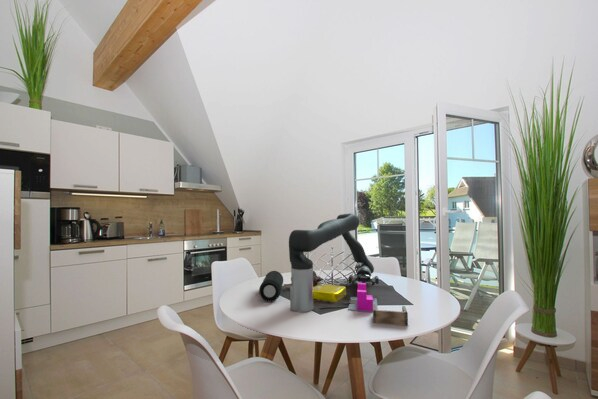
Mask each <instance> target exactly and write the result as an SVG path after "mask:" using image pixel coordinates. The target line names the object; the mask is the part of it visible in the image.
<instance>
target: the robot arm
mask: <svg viewBox="0 0 598 399" xmlns="http://www.w3.org/2000/svg"><path fill="white" fill-rule="evenodd" d="M359 226H360V219H359V216H358V215H357V214H355V213H352V212H351V213H344V214H339V215H338V216H337V217H336V218H334V219H329V220H326V221H323V222H322V223H320V224H319V225H318V226H317V229H312V230H311V229H308V230H307V229H295V230H294V229H293V230H292V231H291V232H290V234H289V237H288V252H289V254H288V256H289V263H290V266H291V267H290V268H291V269H290V270H291V273H290V274H291V277H290V281H291V286H289V294H290V295H289V302H290V303H289V306H290V307H289V309H290V310H291V311H294V312H298V313H299V312H300V313H308V312H312V310H314V300H313V271H314V263H313V261H312V260H311V259H309V258H308V257H307V256H306V255H305V253H311V252H313V251H314V250H317V249H318V247H320V246H322V245H323V244H326V243H328V242H330V241H332V240H335V239H336V238H339V237H340V236H342V238H343V240H344V241H345V243H346V245H347V246H348V249H349V250H350V253H351V255H352V258H353V260H354V262H355V263H358V264H356V265H355V267H354V270H355V269H356V268H357V270H356V272H355V274H356V273H357V274H356V275H355V276H354V275H352V274H349V276H348V283H350V284H353V285H354V286H355V284H358V283H366V285H368V284H369V285H370V284H371V286H375V285H376V284H377V285H379V284H380V283H379V280H380V278H379V276H378V275H375V276H372V274H373V273H374V271H375V266H374V265H373V264H372V262H371V261H370V259H369V258H368V256H367V255H366V252H365V248H364V247H363V245H362V244H361V243H360V242H359V241H358V240H357V239H356V238H355V236H353V234H352V233H351V231H356V230H357V229H358V227H359ZM361 263H362V265H361V266H360V265H359V264H361Z"/></svg>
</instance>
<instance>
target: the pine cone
mask: <svg viewBox="0 0 598 399" xmlns="http://www.w3.org/2000/svg"><path fill="white" fill-rule="evenodd" d="M323 280H324V278H323V277H320V276H318V275H317V273H316V271H315V270H313V287H314V286H316V285H318V283H319V282H322V281H323Z"/></svg>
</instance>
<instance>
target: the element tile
mask: <svg viewBox="0 0 598 399" xmlns="http://www.w3.org/2000/svg"><path fill="white" fill-rule="evenodd" d="M345 295H346V296H347V287H346V286H344V285H337V284H329V283H328V284H327V283H319V284H318V283H317V285H316V286H314V287H313V299H318V300H317V301H320V300H324V301H323V302H326V301H334V302H333V303H336V302H335V301H338V300H339V299H341V298H342V297H343V298H345V297H346V296H345ZM344 296H345V297H344ZM343 298H342V299H343ZM342 299H341V300H342ZM339 301H340V300H339ZM339 301H338V302H339Z"/></svg>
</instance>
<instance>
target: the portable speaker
mask: <svg viewBox="0 0 598 399" xmlns="http://www.w3.org/2000/svg"><path fill="white" fill-rule="evenodd" d="M283 284H284V277H283V274H282V273H281V272H279V271H277V270H271V271H268V273H266V274H265V277H264V279H263V281H262V283H261V284H260V286H259V289H258V290H259V291H258V292H259V295H260V296H259V297H261V299H262V300H264V301H266V302H274V301H276V300H277V299H278V298H279V297H280V295H281V292H282V288H283Z"/></svg>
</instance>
